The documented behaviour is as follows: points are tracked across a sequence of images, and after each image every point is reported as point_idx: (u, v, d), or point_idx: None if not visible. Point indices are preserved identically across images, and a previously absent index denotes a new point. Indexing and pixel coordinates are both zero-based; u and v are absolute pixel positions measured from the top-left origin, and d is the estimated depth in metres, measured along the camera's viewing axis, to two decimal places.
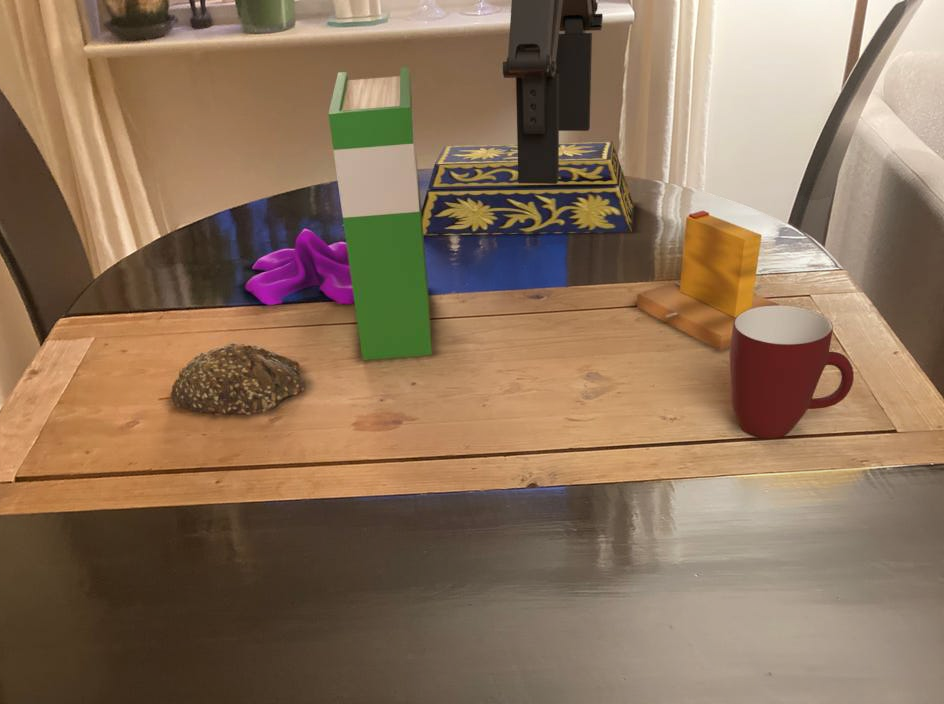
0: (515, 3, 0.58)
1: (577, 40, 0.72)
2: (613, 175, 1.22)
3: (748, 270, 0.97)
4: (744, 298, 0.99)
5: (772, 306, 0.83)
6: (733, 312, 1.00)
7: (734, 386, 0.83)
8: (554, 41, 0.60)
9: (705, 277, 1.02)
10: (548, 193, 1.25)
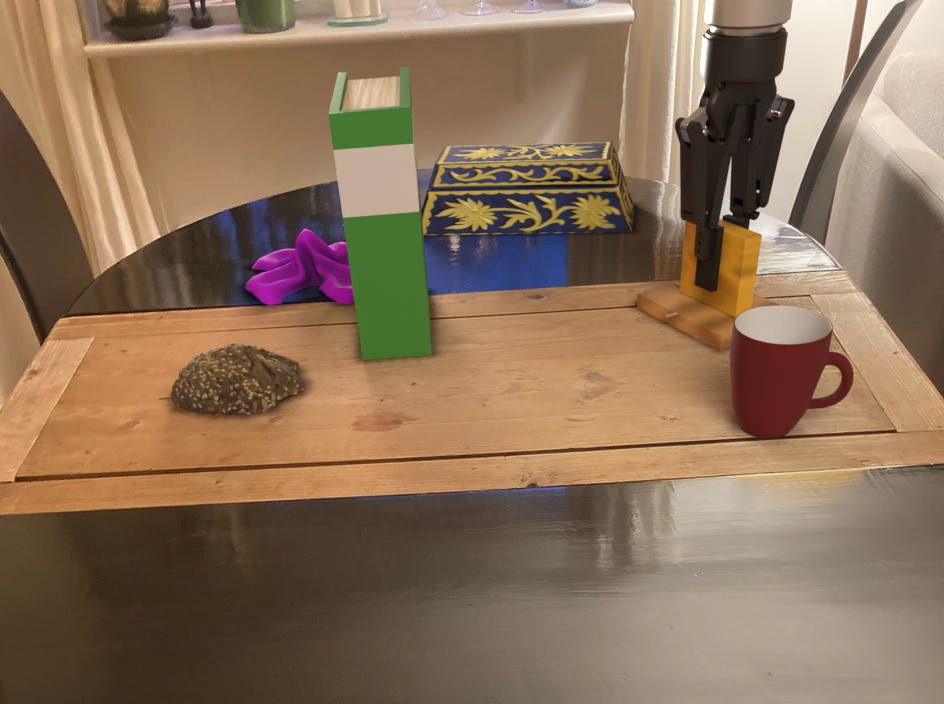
0: (681, 186, 0.94)
1: (733, 223, 0.98)
2: (613, 175, 1.22)
3: (748, 270, 0.97)
4: (745, 298, 0.99)
5: (772, 306, 0.83)
6: (734, 312, 1.00)
7: (734, 386, 0.83)
8: (713, 209, 0.95)
9: None
10: (548, 193, 1.25)
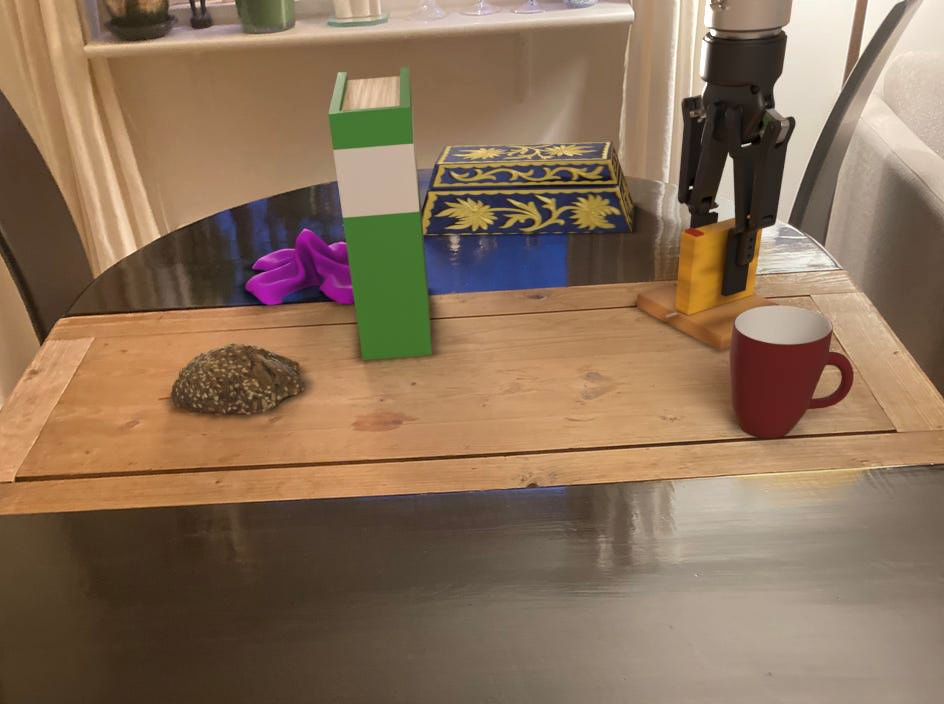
0: (763, 193, 0.91)
1: (710, 218, 1.00)
2: (613, 175, 1.22)
3: None
4: None
5: (772, 306, 0.83)
6: (751, 291, 1.04)
7: (734, 386, 0.83)
8: None
9: (719, 281, 1.01)
10: (548, 193, 1.25)
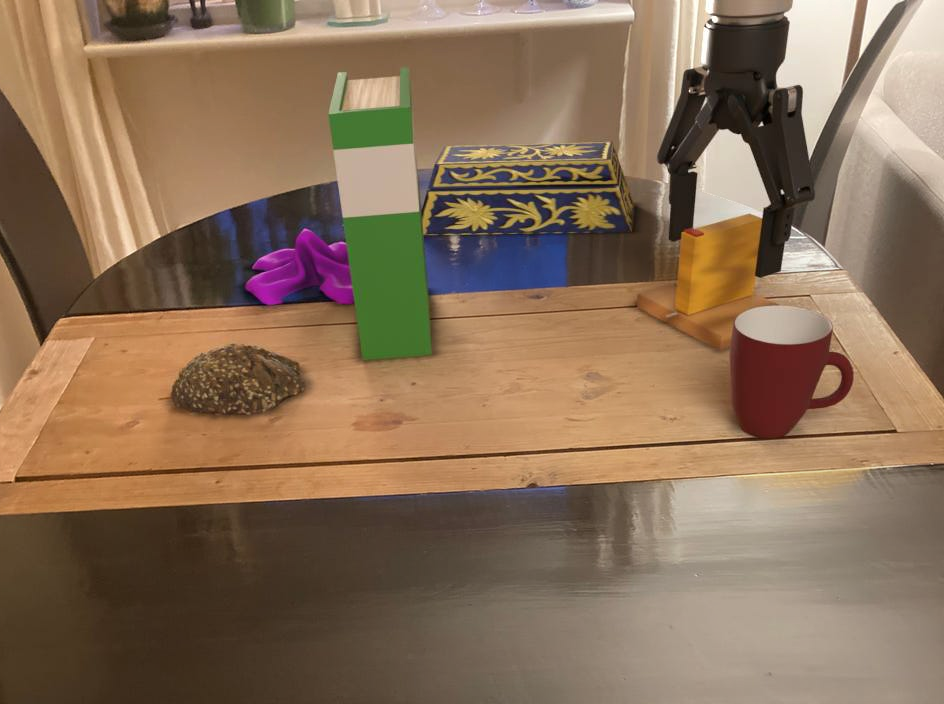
0: (791, 163, 0.87)
1: (690, 178, 1.00)
2: (613, 175, 1.22)
3: None
4: None
5: (772, 306, 0.83)
6: (751, 291, 1.04)
7: (734, 386, 0.83)
8: None
9: (719, 281, 1.01)
10: (548, 193, 1.25)
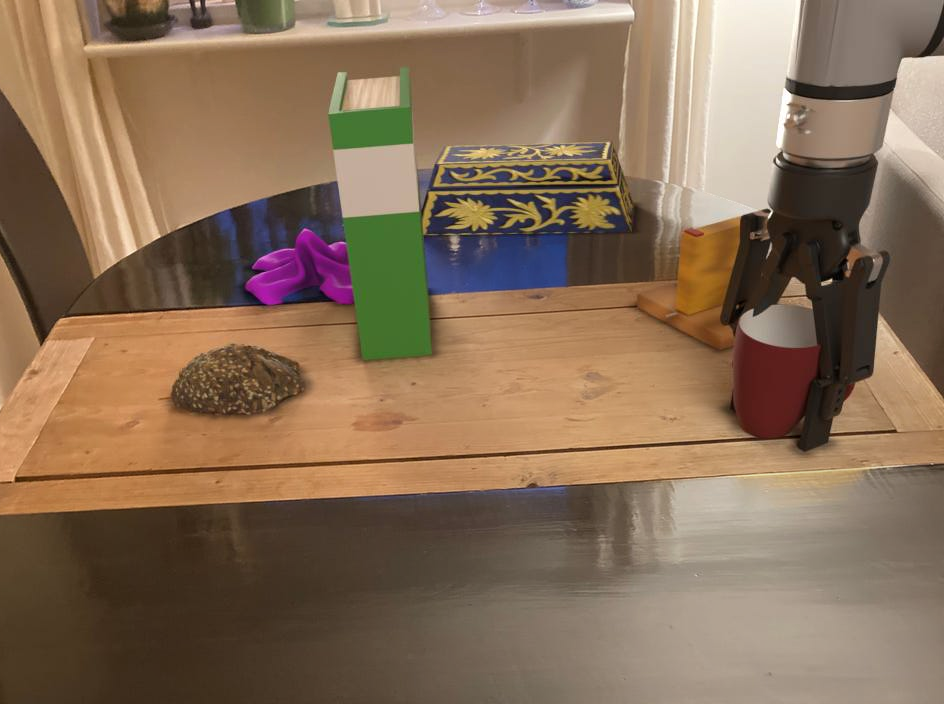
0: (856, 341, 0.74)
1: None
2: (613, 175, 1.22)
3: None
4: None
5: (777, 305, 0.82)
6: None
7: (736, 386, 0.82)
8: None
9: (719, 281, 1.01)
10: (548, 193, 1.25)
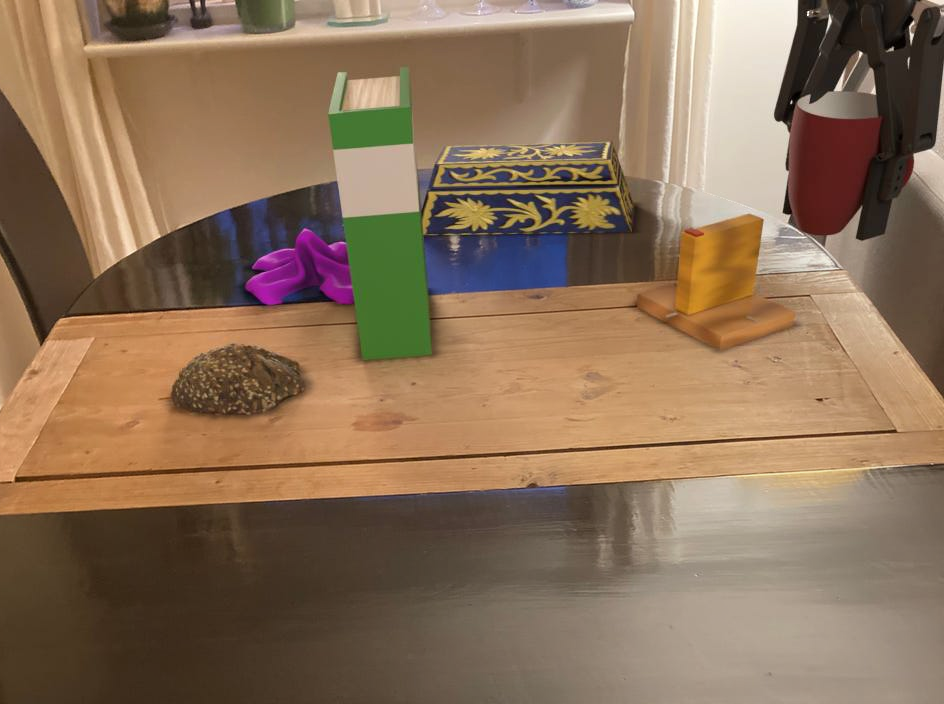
0: (920, 103, 0.73)
1: None
2: (613, 175, 1.22)
3: None
4: None
5: (833, 92, 0.82)
6: (751, 291, 1.04)
7: (793, 174, 0.82)
8: None
9: (719, 281, 1.01)
10: (548, 193, 1.25)
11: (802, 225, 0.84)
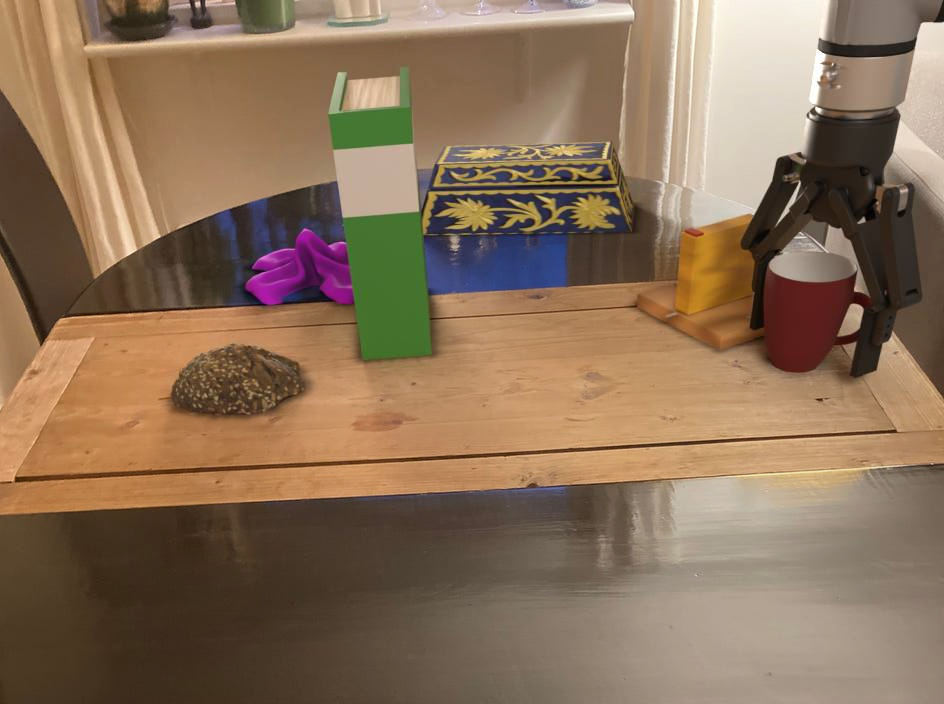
0: (899, 265, 0.81)
1: None
2: (613, 175, 1.22)
3: None
4: None
5: (802, 252, 0.92)
6: (751, 291, 1.04)
7: (768, 324, 0.92)
8: None
9: (719, 281, 1.01)
10: (548, 193, 1.25)
11: (778, 366, 0.94)
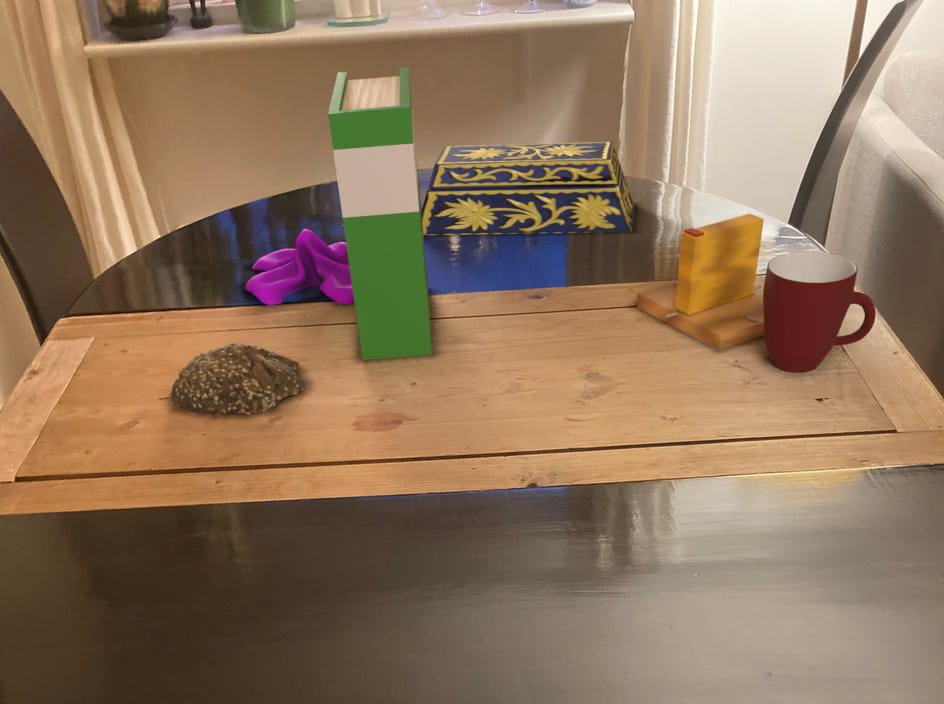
0: None
1: None
2: (613, 175, 1.22)
3: None
4: None
5: (801, 252, 0.92)
6: (751, 291, 1.04)
7: (767, 324, 0.92)
8: None
9: (719, 281, 1.01)
10: (548, 193, 1.25)
11: (778, 366, 0.94)
